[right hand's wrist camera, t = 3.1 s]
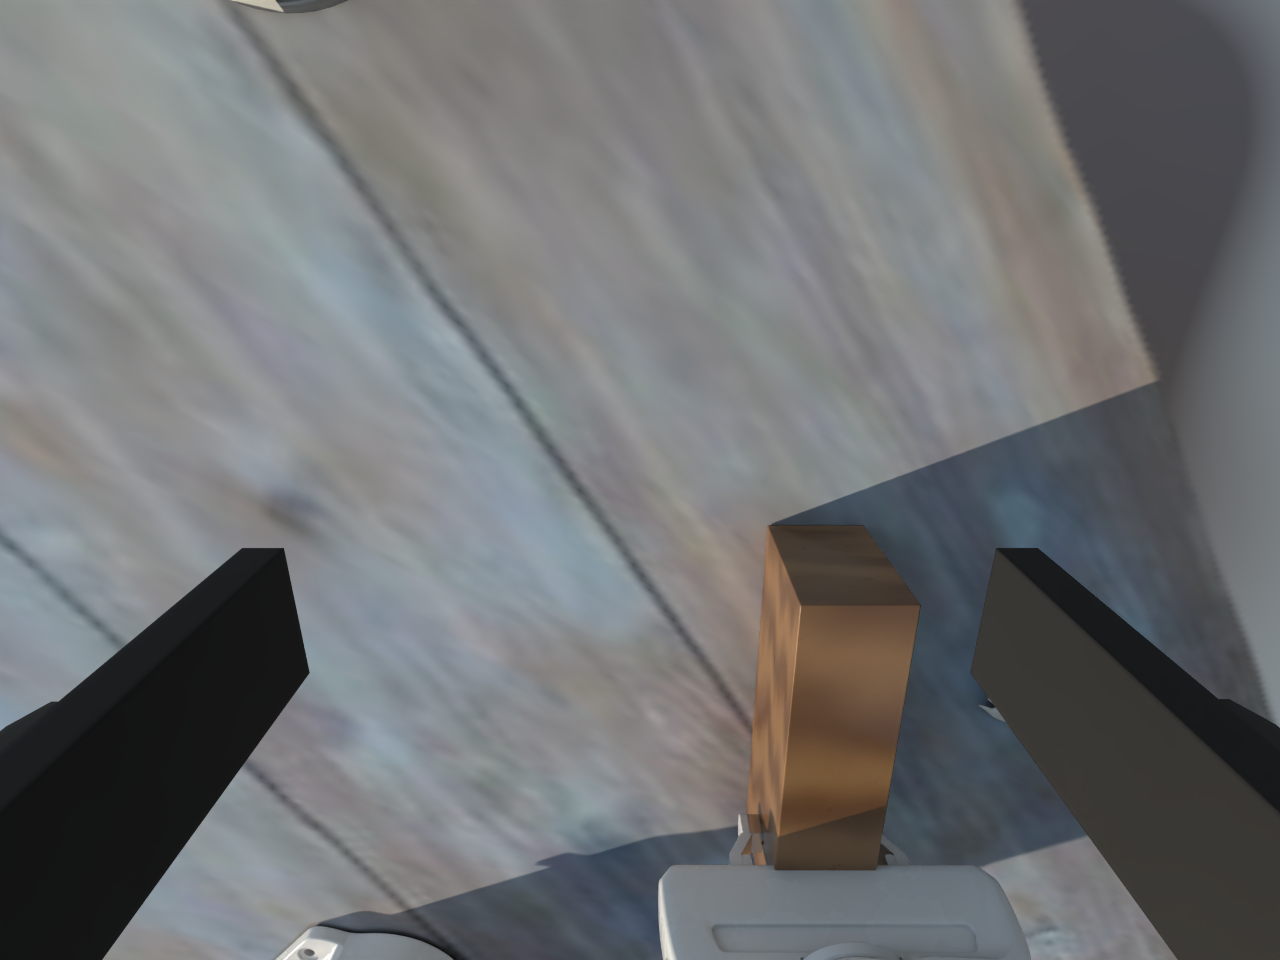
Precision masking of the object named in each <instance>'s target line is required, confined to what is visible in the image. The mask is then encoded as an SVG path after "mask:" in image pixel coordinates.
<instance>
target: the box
mask: <svg viewBox="0 0 1280 960" xmlns="http://www.w3.org/2000/svg"><path fill="white" fill-rule="evenodd" d="M920 607H921V605H920V603H919V602H918V601H917V599H916V598H915V596H914V595H913V594H912V592H911V591H910V589H909V588H908V587H907V585H906V584H905V582H904V581H903V580H902V578H901V577H900V576H899V574H898V573H897V571H896V570H895V569H894V567H893V566H892V564H891V563H890V562H889V560H888V559H887V557H886V556H885V555H884V553H883V552H882V551H881V549H880V548H879V546H878V545H877V544H876V542H875V541H874V539H873V538H872V537H871V535H870V534H869V532H868V531H867V530H866V528H865V527H864V526H854V525H769V526H768V529H767V542H766V556H765V570H764V583H763V597H762V611H761V624H760V638H759V651H758V665H757V679H756V692H755V706H754V720H753V733H752V747H751V760H750V774H749V788H748V801H747V814H760V816H761V823H762V826H763V831H764V838H763V849H762V853H753V857H754V863H755V865H773V866H774V869H775V870H876V868H877V862H878V856H879V850H880V844H881V838H882V832H883V826H884V820H885V814H886V809H887V803H888V797H889V791H890V785H891V779H892V773H893V767H894V761H895V755H896V749H897V743H898V737H899V731H900V726H901V720H902V714H903V708H904V702H905V696H906V690H907V684H908V678H909V672H910V666H911V660H912V654H913V648H914V642H915V637H916V631H917V625H918V619H919V613H920Z"/></svg>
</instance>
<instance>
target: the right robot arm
mask: <svg viewBox="0 0 1280 960" xmlns="http://www.w3.org/2000/svg"><path fill="white" fill-rule="evenodd" d="M232 1H235V2H237V3H239V4H243V5H246V6H249V7H252V8H255V9H260V10H265V11H270V12H279V13H304V12H311V11H317V10H321V9H325V8H329V7H332V6H335V5H337V4H340V3H342V2H345V1H346V0H232ZM308 674H309V668H308V663H307V658H306V653H305V649H304V644H303V639H302V634H301V629H300V624H299V619H298V615H297V610H296V605H295V600H294V595H293V590H292V585H291V581H290V576H289V571H288V566H287V561H286V556H285V551H284V548H242V549H241V550H239V551H238V552H237V553H236V554H235V555H233V556H232V557H231V558H230V559H229V560H227V561H226V562H225V563H224V564H223V565H221V566H220V567H219V568H218V569H217V570H216V571H214V572H213V573H212V574H211V575H210V576H208V577H207V578H206V579H205V580H204V581H202V582H201V583H200V584H199V585H198V586H196V587H195V588H194V589H193V590H192V591H190V592H189V593H188V594H187V595H186V596H184V597H183V598H182V599H181V600H180V601H178V602H177V603H176V604H175V605H174V606H172V607H171V608H170V609H169V610H168V611H166V612H165V613H164V614H163V615H162V616H160V617H159V618H158V619H157V620H156V621H154V622H153V623H152V624H151V625H150V626H149V627H147V628H146V629H145V630H144V631H143V632H141V633H140V634H139V635H138V636H137V637H135V638H134V639H133V640H132V641H131V642H129V643H128V644H127V645H126V646H125V647H123V648H122V649H121V650H120V651H119V652H117V653H116V654H115V655H114V656H113V657H111V658H110V659H109V660H108V661H107V662H105V663H104V664H103V665H102V666H101V667H99V668H98V669H97V670H96V671H95V672H93V673H92V674H91V675H90V676H89V677H87V678H86V679H85V680H84V681H83V682H81V683H80V684H79V685H78V686H77V687H76V688H74V689H73V690H72V691H71V692H70V693H68V694H67V695H66V696H65V697H64V698H62V699H61V700H60V701H59V702H50V703H48V704H46V705H44V706H43V707H41V708H39V709H37V710H35V711H34V712H32V713H30V714H28V715H26V716H24V717H23V718H21V719H19V720H17V721H15V722H14V723H12V724H10V725H8V726H6V727H5V728H4V729H2V730H1V731H0V960H102V959H103V958H104V956H105V955H106V954H107V952H108V951H109V950H110V948H111V947H112V945H113V944H114V943H115V941H116V940H117V938H118V937H119V936H120V934H121V933H122V932H123V930H124V929H125V927H126V926H127V925H128V923H129V922H130V920H131V919H132V918H133V916H134V915H135V914H136V912H137V911H138V909H139V908H140V907H141V905H142V904H143V903H144V901H145V900H146V898H147V897H148V896H149V894H150V893H151V891H152V890H153V889H154V887H155V886H156V885H157V883H158V882H159V880H160V879H161V878H162V876H163V875H164V873H165V872H166V871H167V869H168V868H169V867H170V865H171V864H172V862H173V861H174V860H175V858H176V857H177V855H178V854H179V853H180V851H181V850H182V849H183V847H184V846H185V844H186V843H187V842H188V840H189V839H190V838H191V836H192V835H193V833H194V832H195V831H196V829H197V828H198V826H199V825H200V824H201V822H202V821H203V820H204V818H205V817H206V815H207V814H208V813H209V811H210V810H211V808H212V807H213V806H214V804H215V803H216V802H217V800H218V799H219V797H220V796H221V795H222V793H223V792H224V790H225V789H226V788H227V786H228V785H229V784H230V782H231V781H232V779H233V778H234V777H235V775H236V774H237V772H238V771H239V770H240V768H241V767H242V766H243V764H244V763H245V761H246V760H247V759H248V757H249V756H250V755H251V753H252V752H253V750H254V749H255V748H256V746H257V745H258V743H259V742H260V741H261V739H262V738H263V737H264V735H265V734H266V732H267V731H268V730H269V728H270V727H271V725H272V724H273V723H274V721H275V720H276V719H277V717H278V716H279V714H280V713H281V712H282V710H283V709H284V707H285V706H286V705H287V703H288V702H289V701H290V699H291V698H292V696H293V695H294V694H295V692H296V691H297V689H298V688H299V687H300V685H301V684H302V683H303V681H304V680H305V678H306V677H307V676H308ZM971 674H972V676H973V677H974V678H975V680H976V681H977V683H978V684H979V685H980V687H981V688H982V689H983V691H984V692H985V694H986V695H987V696H988V698H989V699H990V701H991V702H992V703H993V705H994V706H995V707H996V709H997V710H998V712H999V713H1000V714H1001V716H1002V717H1003V719H1004V720H1005V721H1006V723H1007V724H1008V725H1009V727H1010V728H1011V730H1012V731H1013V732H1014V734H1015V735H1016V737H1017V738H1018V739H1019V741H1020V742H1021V743H1022V745H1023V746H1024V748H1025V749H1026V750H1027V752H1028V753H1029V755H1030V756H1031V757H1032V759H1033V760H1034V761H1035V763H1036V764H1037V766H1038V767H1039V768H1040V770H1041V771H1042V772H1043V774H1044V775H1045V777H1046V778H1047V779H1048V781H1049V782H1050V784H1051V785H1052V786H1053V788H1054V789H1055V790H1056V792H1057V793H1058V795H1059V796H1060V797H1061V799H1062V800H1063V802H1064V803H1065V804H1066V806H1067V807H1068V808H1069V810H1070V811H1071V813H1072V814H1073V815H1074V817H1075V818H1076V820H1077V821H1078V822H1079V824H1080V825H1081V826H1082V828H1083V829H1084V831H1085V832H1086V833H1087V835H1088V836H1089V838H1090V839H1091V840H1092V842H1093V843H1094V844H1095V846H1096V847H1097V849H1098V850H1099V851H1100V853H1101V854H1102V855H1103V857H1104V858H1105V860H1106V861H1107V862H1108V864H1109V865H1110V867H1111V868H1112V869H1113V871H1114V872H1115V873H1116V875H1117V876H1118V878H1119V879H1120V880H1121V882H1122V883H1123V885H1124V886H1125V887H1126V889H1127V890H1128V891H1129V893H1130V894H1131V896H1132V897H1133V898H1134V900H1135V901H1136V903H1137V904H1138V905H1139V907H1140V908H1141V909H1142V911H1143V912H1144V914H1145V915H1146V916H1147V918H1148V919H1149V920H1150V922H1151V923H1152V925H1153V926H1154V927H1155V929H1156V930H1157V932H1158V933H1159V934H1160V936H1161V937H1162V938H1163V940H1164V941H1165V943H1166V944H1167V945H1168V947H1169V948H1170V950H1171V951H1172V952H1173V954H1174V955H1175V956H1176V958H1177V959H1178V960H1280V728H1279V727H1278V726H1277V725H1275V724H1274V723H1272V722H1270V721H1268V720H1266V719H1265V718H1263V717H1261V716H1259V715H1257V714H1255V713H1254V712H1252V711H1250V710H1248V709H1246V708H1244V707H1243V706H1241V705H1239V704H1237V703H1235V702H1233V701H1232V700H1230V699H1218V698H1216V697H1215V696H1214V695H1213V694H1212V693H1210V692H1209V691H1208V690H1207V689H1206V688H1204V687H1203V686H1202V685H1201V684H1200V683H1198V682H1197V681H1196V680H1195V679H1194V678H1193V677H1191V676H1190V675H1189V674H1188V673H1187V672H1185V671H1184V670H1183V669H1182V668H1181V667H1179V666H1178V665H1177V664H1176V663H1175V662H1173V661H1172V660H1171V659H1170V658H1169V657H1167V656H1166V655H1165V654H1164V653H1163V652H1161V651H1160V650H1159V649H1158V648H1157V647H1155V646H1154V645H1153V644H1152V643H1151V642H1149V641H1148V640H1147V639H1146V638H1145V637H1143V636H1142V635H1141V634H1140V633H1139V632H1137V631H1136V630H1135V629H1134V628H1133V627H1131V626H1130V625H1129V624H1128V623H1127V622H1126V621H1124V620H1123V619H1122V618H1121V617H1120V616H1118V615H1117V614H1116V613H1115V612H1114V611H1112V610H1111V609H1110V608H1109V607H1108V606H1106V605H1105V604H1104V603H1103V602H1102V601H1100V600H1099V599H1098V598H1097V597H1096V596H1094V595H1093V594H1092V593H1091V592H1090V591H1088V590H1087V589H1086V588H1085V587H1084V586H1082V585H1081V584H1080V583H1079V582H1078V581H1076V580H1075V579H1074V578H1073V577H1072V576H1070V575H1069V574H1068V573H1067V572H1066V571H1064V570H1063V569H1062V568H1061V567H1060V566H1059V565H1057V564H1056V563H1055V562H1054V561H1053V560H1051V559H1050V558H1049V557H1048V556H1047V555H1045V554H1044V553H1043V552H1042V551H1041V550H1039V549H1038V548H996V551H995V556H994V561H993V566H992V571H991V576H990V581H989V585H988V590H987V595H986V600H985V605H984V610H983V615H982V619H981V624H980V629H979V634H978V639H977V644H976V649H975V653H974V658H973V663H972V668H971Z"/></svg>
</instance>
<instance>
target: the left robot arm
mask: <svg viewBox="0 0 1280 960" xmlns="http://www.w3.org/2000/svg"><path fill="white" fill-rule="evenodd" d="M738 836H739V837H738V839H737V841H736V842H735V844H734V846H733V848H732V849H731V851H730V853H729V864H728V865H674V866H671V867H670V868H669V869H668V870H667V871H666V873H665V874H664V875H663V876H662V878H661V879H660V881H659V890H658V910H659V930H660V940H661V948H662V955H663V960H1031V955H1030V951H1029V947H1028V944H1027V942H1026V939H1025V936H1024V934H1023V931H1022V929H1021V926H1020V924H1019V922H1018V919H1017V917H1016V915H1015V913H1014V911H1013V908H1012V906H1011V904H1010V902H1009V900H1008V898H1007V896H1006V895H1005V893H1004V891H1003V889H1002V887H1001V886H1000V884H999V883H998V881H997V880H996V879H995V878H993V877H992V876H991V875H989V874H988V873H987V872H985V871H984V870H982V869H981V868H979V867H977V866H975V865H910V863H909V861H908V858H907V856H906V854H905V853H904V852H903V851H902V850H900V849H899V848H898V847H897V846H896V845H895V844H893V843H892V842H891V841H890V840H889V839H887V838H886V837H885V836H884V835H883V834H882V838H881V844H880V850H879V856H878V862H877V868H876V870H775V869H774V866H773V865H753V862H752V857H751V853H762V849H763V838H764V831H763V826H762V823H761V816H760V814H739V820H738ZM276 960H453V959H452V958H451V957H450V956H448V955H447V954H445V953H444V952H442V951H441V950H439V949H437V948H435V947H434V946H432V945H429V944H427V943H425V942H422V941H419V940H416V939H413V938H409V937H405V936H401V935H395V934H385V933H349V932H345V931H342V930H338V929H334V928H329V927H323V926H315V927H312V928H310V929H308V930H307V931H306V932H305V933H304V934H303V935H302V936H300V937H299V938H298V939H297V940H296V941H295V942H294V943H293V944H292V945H291V946H290V947H289V948H288V949H286V950H285V951H284V952H283V953H282V954H281V955H280V956H279V957H278V958H277V959H276Z"/></svg>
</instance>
